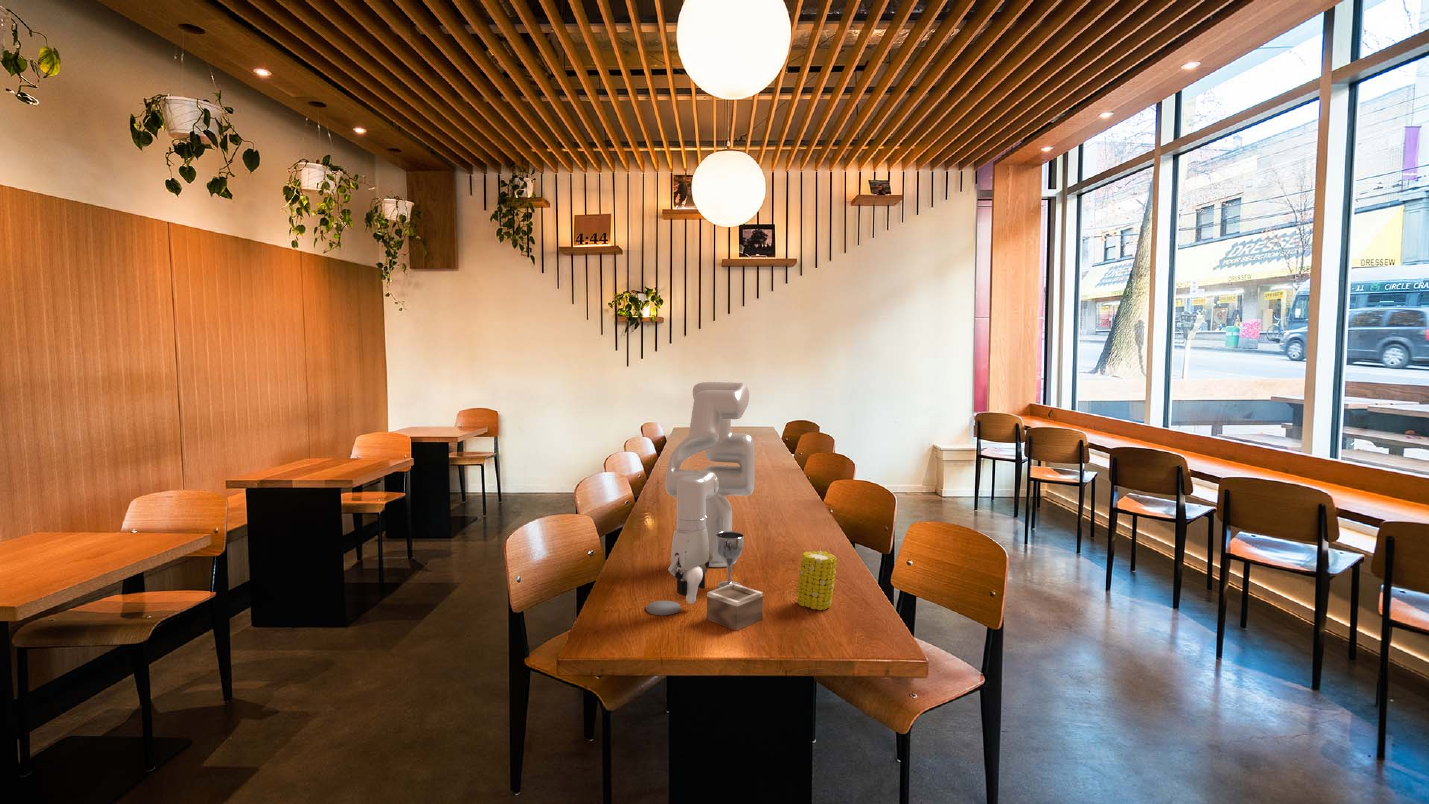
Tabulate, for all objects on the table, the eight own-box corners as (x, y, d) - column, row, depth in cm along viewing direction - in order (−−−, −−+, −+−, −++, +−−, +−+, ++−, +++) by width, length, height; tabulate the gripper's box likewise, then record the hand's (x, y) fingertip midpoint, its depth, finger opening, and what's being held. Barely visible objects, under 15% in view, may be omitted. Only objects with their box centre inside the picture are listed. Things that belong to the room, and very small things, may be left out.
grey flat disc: (639, 611, 173) (639, 609, 173) (658, 600, 181) (658, 598, 181) (668, 618, 169) (668, 615, 169) (686, 606, 177) (686, 604, 177)
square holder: (706, 619, 168) (707, 592, 168) (733, 609, 176) (733, 583, 175) (736, 630, 161) (736, 602, 161) (762, 619, 169) (762, 592, 168)
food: (792, 606, 182) (826, 606, 184) (806, 612, 171) (843, 612, 173) (791, 549, 185) (825, 549, 187) (806, 552, 173) (842, 552, 175)
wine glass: (746, 582, 196) (746, 532, 195) (738, 591, 189) (739, 539, 188) (720, 579, 199) (721, 530, 198) (711, 588, 191) (712, 536, 190)
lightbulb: (678, 599, 177) (679, 559, 176) (701, 598, 178) (702, 558, 177) (679, 608, 171) (679, 567, 170) (703, 608, 172) (703, 566, 171)
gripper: (703, 514, 181) (703, 579, 183) (656, 527, 169) (656, 596, 171) (724, 520, 176) (723, 586, 178) (677, 533, 164) (677, 604, 165)
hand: (691, 590), depth 174 cm, fingers closed on lightbulb, 5 cm apart
